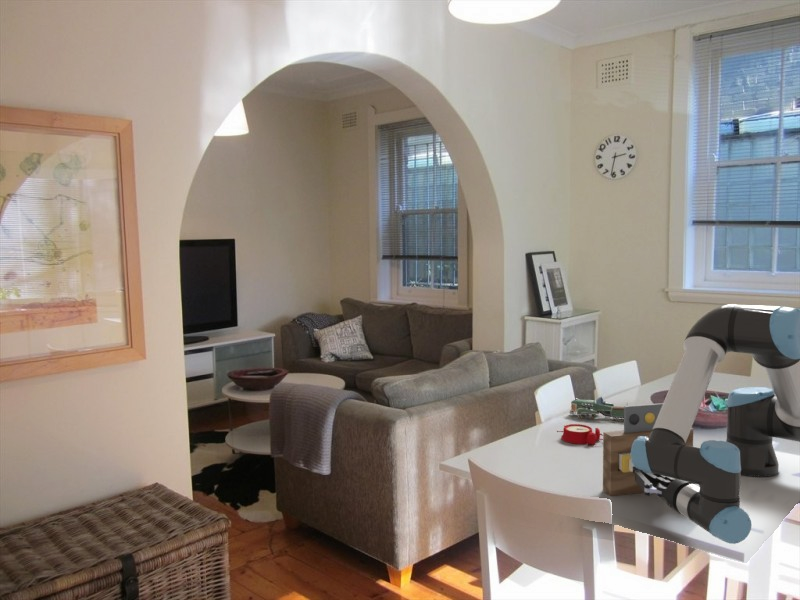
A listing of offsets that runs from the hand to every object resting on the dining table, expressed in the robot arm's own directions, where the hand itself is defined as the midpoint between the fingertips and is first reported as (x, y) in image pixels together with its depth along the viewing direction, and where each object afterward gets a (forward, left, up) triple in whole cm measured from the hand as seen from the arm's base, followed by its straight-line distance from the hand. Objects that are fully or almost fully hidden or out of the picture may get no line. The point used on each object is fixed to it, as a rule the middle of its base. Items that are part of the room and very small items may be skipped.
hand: (631, 464), depth 171 cm
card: (-4, -8, +7) cm, 11 cm away
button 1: (+3, -4, -2) cm, 5 cm away
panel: (-4, -8, -9) cm, 13 cm away
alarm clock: (+18, -45, -9) cm, 50 cm away
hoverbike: (+14, -74, -9) cm, 76 cm away
